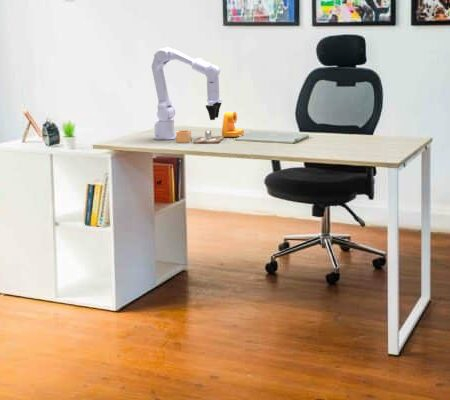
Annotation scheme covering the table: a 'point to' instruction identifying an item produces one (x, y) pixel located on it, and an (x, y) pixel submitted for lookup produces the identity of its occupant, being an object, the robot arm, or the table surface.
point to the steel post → (208, 135)
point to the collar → (183, 136)
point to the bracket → (230, 125)
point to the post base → (212, 141)
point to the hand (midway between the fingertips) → (214, 118)
